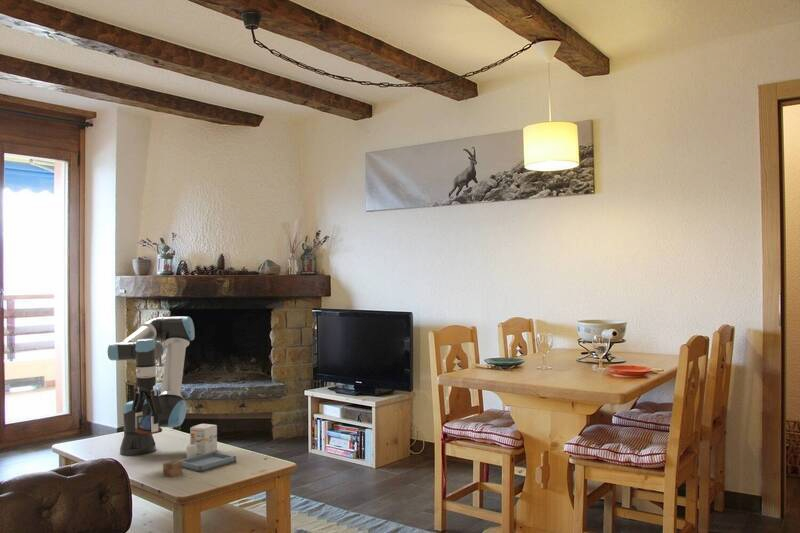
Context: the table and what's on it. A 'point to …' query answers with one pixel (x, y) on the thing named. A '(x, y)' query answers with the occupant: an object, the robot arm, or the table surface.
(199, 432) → the ink box
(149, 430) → the model
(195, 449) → the white egg
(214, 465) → the tray
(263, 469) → the table surface
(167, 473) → the walnut cube
